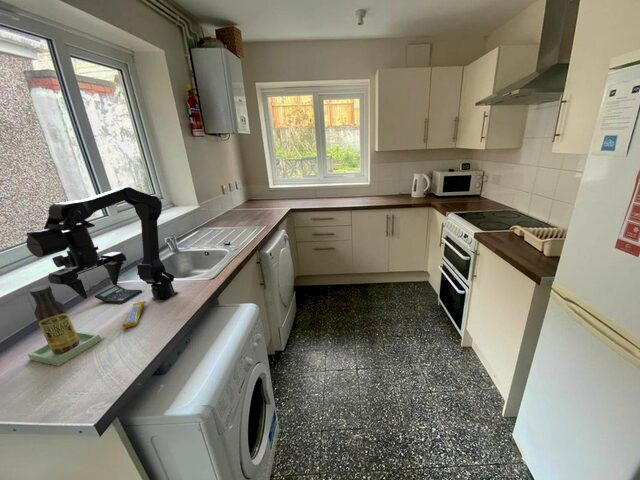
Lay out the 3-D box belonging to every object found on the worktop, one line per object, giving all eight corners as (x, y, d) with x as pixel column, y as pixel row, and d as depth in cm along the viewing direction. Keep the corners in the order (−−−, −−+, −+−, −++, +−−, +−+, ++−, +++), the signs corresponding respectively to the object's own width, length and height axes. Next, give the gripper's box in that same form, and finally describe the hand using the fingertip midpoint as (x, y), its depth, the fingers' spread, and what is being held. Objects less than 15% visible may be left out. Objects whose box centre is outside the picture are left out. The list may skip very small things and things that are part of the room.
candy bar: (137, 327, 95) (135, 322, 94) (122, 330, 93) (120, 325, 93) (147, 304, 109) (145, 299, 109) (134, 306, 108) (132, 302, 107)
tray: (75, 335, 92) (73, 330, 92) (101, 339, 89) (99, 334, 89) (30, 359, 82) (27, 354, 81) (58, 366, 79) (55, 360, 78)
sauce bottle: (54, 357, 82) (20, 296, 74) (51, 349, 85) (19, 290, 78) (84, 345, 86) (54, 287, 78) (80, 338, 90) (52, 281, 82)
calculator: (122, 303, 111) (119, 296, 110) (96, 302, 113) (93, 295, 111) (142, 291, 119) (139, 285, 118) (118, 290, 121) (115, 284, 120)
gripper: (94, 235, 96) (111, 277, 102) (23, 255, 80) (48, 303, 86) (119, 236, 93) (135, 279, 99) (50, 257, 77) (75, 307, 83)
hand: (100, 291), depth 92 cm, fingers open, 9 cm apart
